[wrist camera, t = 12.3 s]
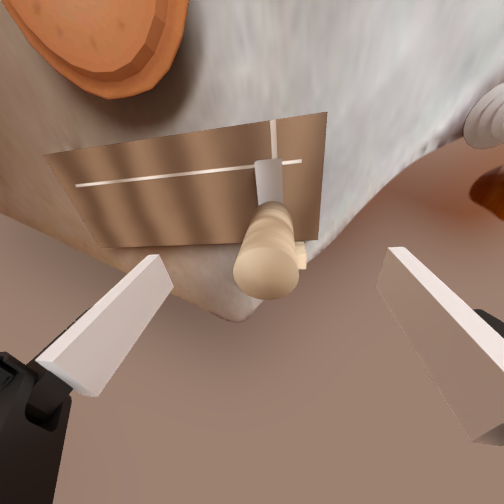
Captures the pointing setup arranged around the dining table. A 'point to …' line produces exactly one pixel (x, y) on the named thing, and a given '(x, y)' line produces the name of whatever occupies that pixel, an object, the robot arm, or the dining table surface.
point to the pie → (105, 40)
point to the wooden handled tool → (269, 241)
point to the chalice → (486, 120)
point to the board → (194, 183)
